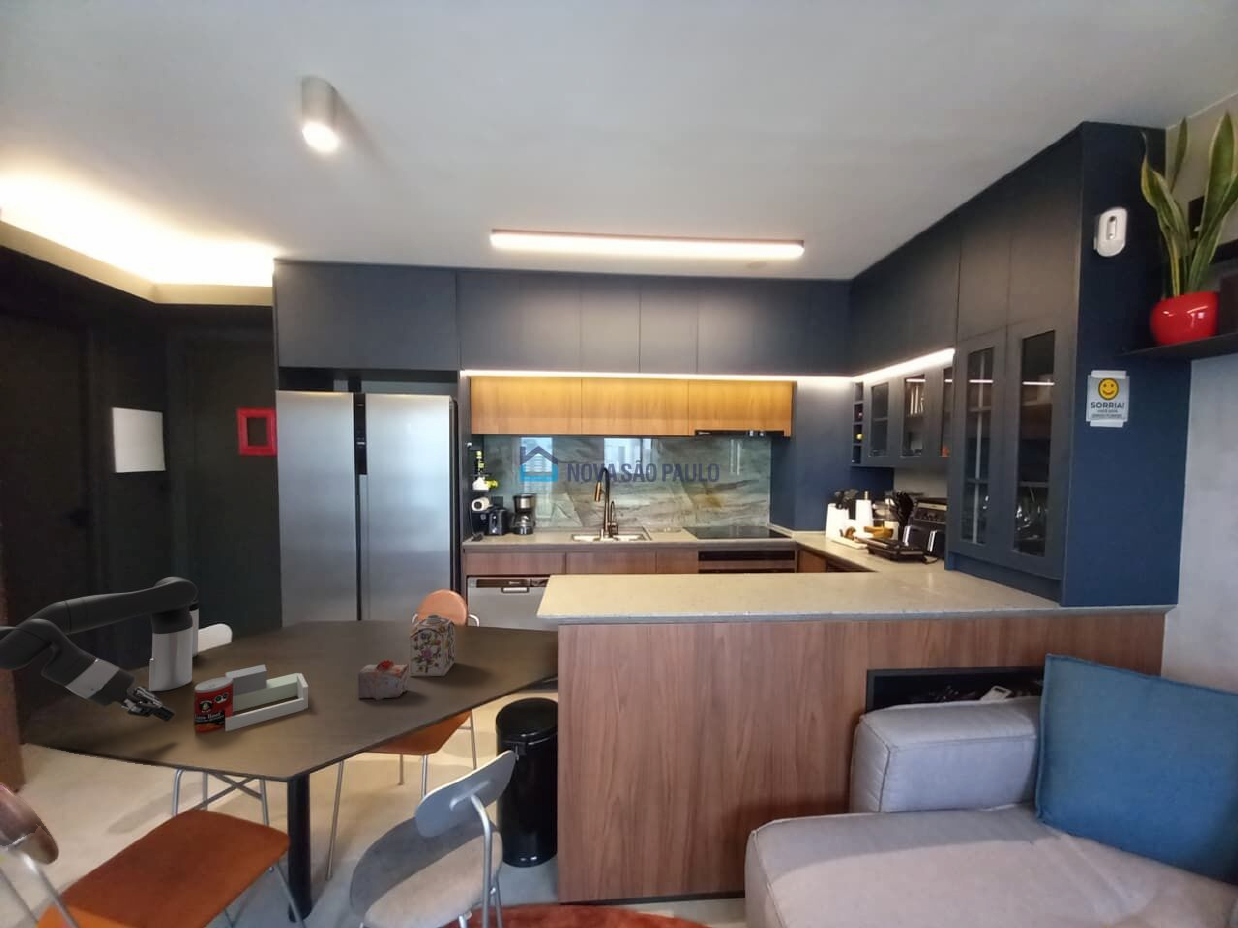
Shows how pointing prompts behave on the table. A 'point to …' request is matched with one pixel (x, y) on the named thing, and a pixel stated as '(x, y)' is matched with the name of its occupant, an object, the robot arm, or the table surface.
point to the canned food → (213, 704)
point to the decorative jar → (432, 646)
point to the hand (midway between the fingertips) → (171, 716)
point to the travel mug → (194, 625)
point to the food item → (382, 680)
